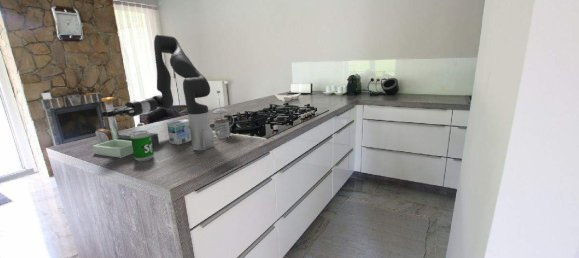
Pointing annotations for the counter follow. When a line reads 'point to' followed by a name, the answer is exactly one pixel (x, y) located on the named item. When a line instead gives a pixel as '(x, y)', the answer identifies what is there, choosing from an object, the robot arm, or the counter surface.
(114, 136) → the gold capped white cylinder
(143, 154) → the soda can
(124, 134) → the hitch bar
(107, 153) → the tray
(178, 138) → the light bulb box
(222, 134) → the french press
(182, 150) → the counter surface
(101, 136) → the bread slice
